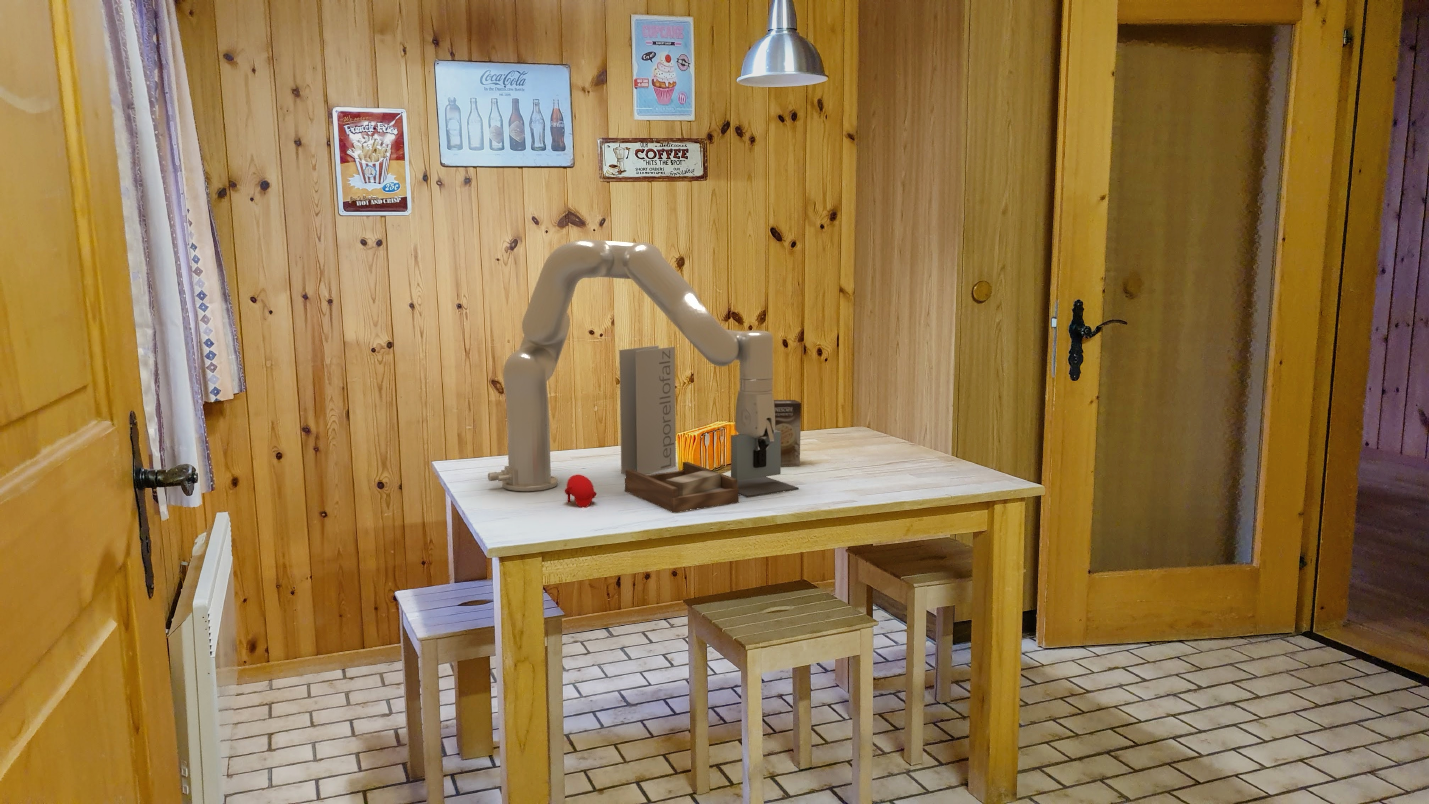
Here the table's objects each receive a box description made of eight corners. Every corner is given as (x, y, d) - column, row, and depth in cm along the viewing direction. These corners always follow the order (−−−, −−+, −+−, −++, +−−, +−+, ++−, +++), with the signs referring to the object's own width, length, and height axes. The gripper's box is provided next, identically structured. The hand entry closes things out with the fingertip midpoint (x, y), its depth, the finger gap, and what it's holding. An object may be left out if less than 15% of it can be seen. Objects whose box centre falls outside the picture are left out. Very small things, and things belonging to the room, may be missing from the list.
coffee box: (764, 467, 256) (765, 403, 253) (759, 462, 262) (759, 399, 259) (800, 466, 257) (801, 402, 255) (794, 460, 263) (795, 398, 261)
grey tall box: (638, 476, 246) (636, 351, 241) (621, 473, 249) (619, 350, 245) (675, 466, 257) (674, 346, 253) (659, 463, 260) (657, 345, 256)
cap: (558, 485, 223) (559, 477, 218) (583, 474, 225) (585, 465, 220) (574, 517, 221) (576, 509, 216) (600, 506, 223) (602, 497, 218)
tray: (674, 512, 213) (673, 489, 212) (624, 491, 232) (624, 469, 231) (738, 502, 221) (738, 479, 221) (686, 482, 240) (686, 461, 239)
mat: (747, 497, 226) (747, 495, 226) (713, 484, 237) (713, 483, 237) (798, 489, 233) (798, 487, 233) (763, 477, 245) (763, 475, 245)
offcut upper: (682, 497, 215) (682, 483, 215) (665, 493, 218) (665, 479, 218) (721, 486, 224) (720, 473, 224) (704, 483, 227) (704, 470, 227)
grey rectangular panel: (736, 480, 231) (736, 436, 229) (730, 478, 233) (730, 435, 231) (780, 474, 237) (780, 431, 235) (774, 472, 239) (774, 429, 237)
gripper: (722, 383, 236) (722, 461, 239) (762, 391, 223) (762, 474, 226) (749, 380, 240) (749, 457, 243) (790, 388, 227) (790, 470, 230)
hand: (755, 465), depth 234 cm, fingers closed on grey rectangular panel, 2 cm apart
